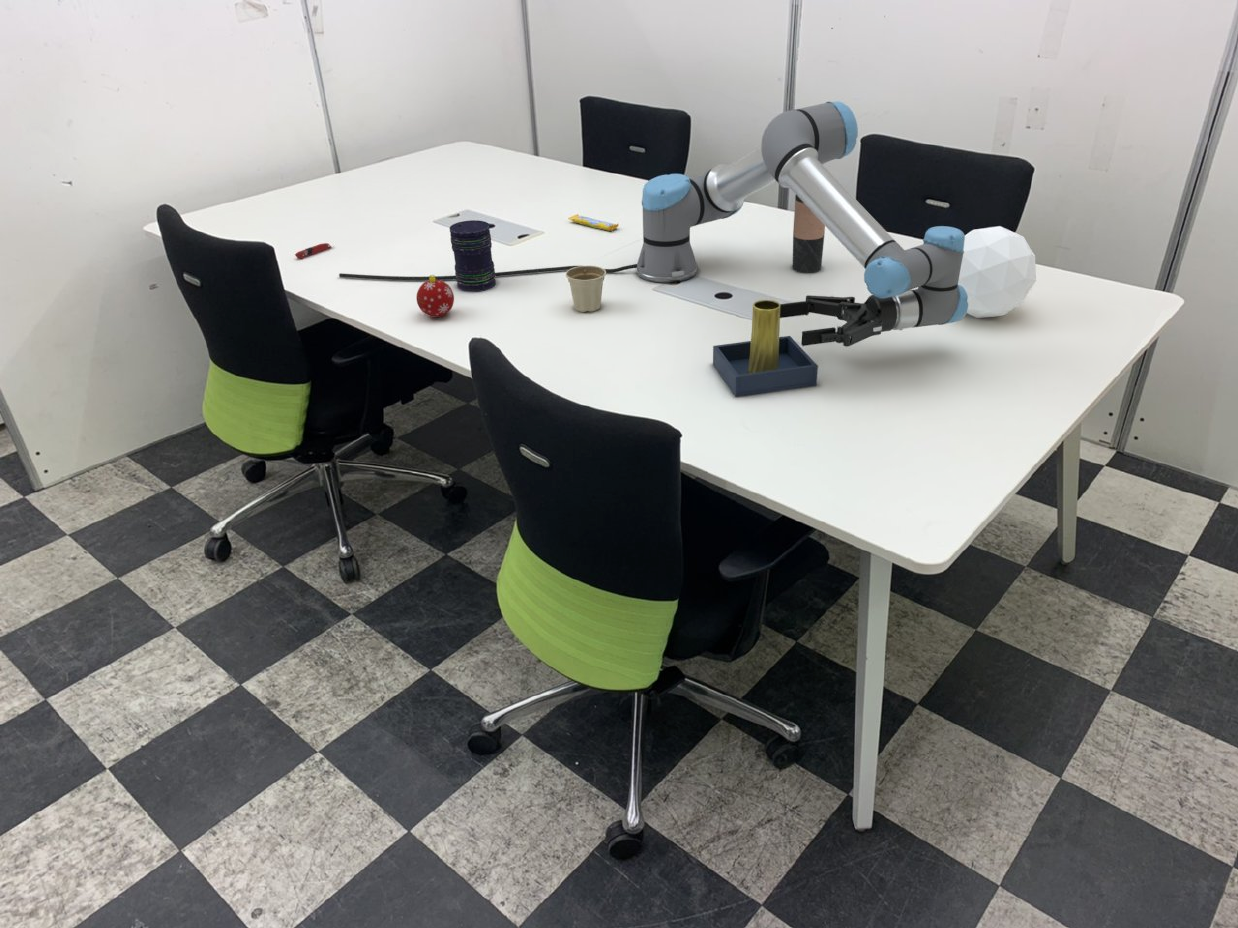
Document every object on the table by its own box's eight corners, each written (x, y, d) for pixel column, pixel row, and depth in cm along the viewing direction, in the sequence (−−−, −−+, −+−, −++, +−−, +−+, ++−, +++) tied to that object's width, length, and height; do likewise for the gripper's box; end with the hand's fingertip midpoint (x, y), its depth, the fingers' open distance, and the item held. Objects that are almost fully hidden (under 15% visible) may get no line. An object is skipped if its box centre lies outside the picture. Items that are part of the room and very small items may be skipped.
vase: (745, 365, 189) (747, 299, 181) (775, 363, 189) (778, 297, 182) (751, 379, 184) (754, 312, 176) (782, 377, 184) (786, 309, 177)
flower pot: (613, 301, 222) (611, 267, 217) (599, 317, 215) (597, 281, 210) (576, 298, 225) (574, 264, 220) (562, 313, 217) (559, 278, 213)
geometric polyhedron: (981, 350, 208) (979, 302, 191) (926, 293, 218) (919, 243, 201) (1055, 301, 206) (1059, 248, 189) (995, 246, 217) (994, 191, 200)
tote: (735, 397, 180) (736, 377, 177) (712, 364, 192) (713, 345, 189) (816, 385, 182) (818, 365, 180) (788, 354, 194) (790, 335, 192)
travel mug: (823, 273, 232) (828, 193, 222) (792, 273, 233) (796, 194, 223) (821, 262, 239) (826, 184, 228) (790, 262, 240) (794, 184, 229)
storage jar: (503, 280, 237) (497, 222, 229) (483, 294, 229) (475, 235, 221) (470, 275, 240) (463, 218, 232) (449, 289, 233) (440, 230, 225)
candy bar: (620, 229, 267) (620, 222, 266) (611, 233, 265) (611, 226, 264) (577, 219, 277) (577, 212, 276) (568, 222, 274) (567, 216, 273)
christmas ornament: (415, 312, 221) (409, 272, 216) (451, 305, 224) (445, 266, 218) (424, 325, 214) (417, 284, 209) (460, 318, 217) (454, 277, 212)
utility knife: (297, 260, 255) (296, 253, 254) (295, 259, 256) (293, 252, 255) (332, 248, 263) (331, 241, 262) (330, 247, 263) (328, 240, 262)
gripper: (917, 355, 178) (812, 369, 174) (861, 306, 198) (766, 318, 195) (922, 318, 174) (815, 332, 170) (864, 272, 194) (768, 284, 191)
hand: (789, 324), depth 182 cm, fingers open, 13 cm apart
